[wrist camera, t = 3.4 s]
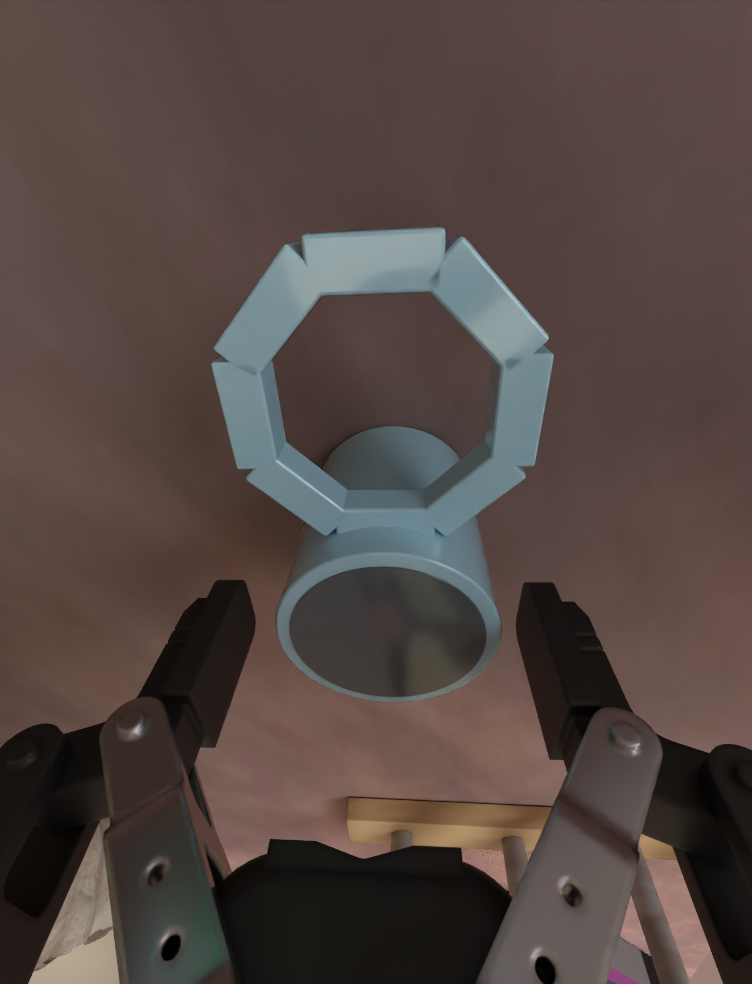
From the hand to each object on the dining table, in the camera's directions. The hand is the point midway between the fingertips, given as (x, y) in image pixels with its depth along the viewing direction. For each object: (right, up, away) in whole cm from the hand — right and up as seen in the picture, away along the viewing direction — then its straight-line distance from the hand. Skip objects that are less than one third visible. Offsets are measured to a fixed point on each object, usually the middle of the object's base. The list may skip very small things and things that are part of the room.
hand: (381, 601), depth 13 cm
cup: (0, +6, +3) cm, 7 cm away
